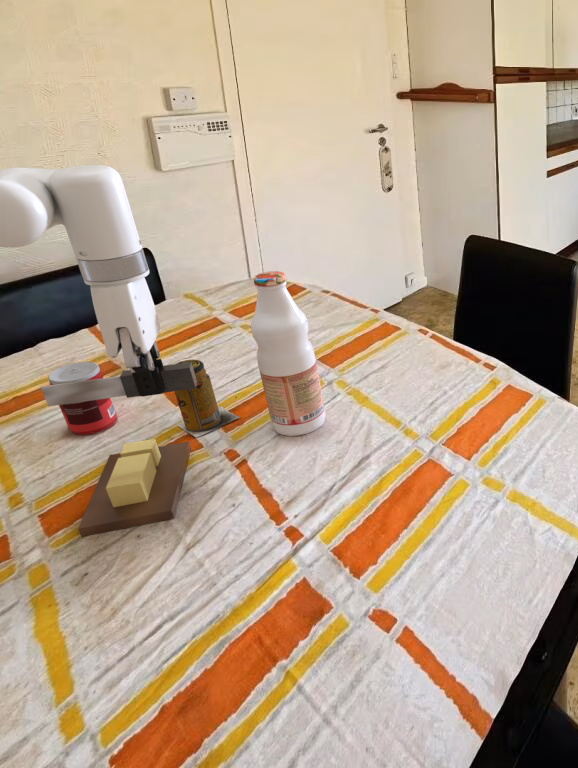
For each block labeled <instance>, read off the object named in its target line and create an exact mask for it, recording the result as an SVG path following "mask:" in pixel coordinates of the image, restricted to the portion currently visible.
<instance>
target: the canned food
mask: <svg viewBox="0 0 578 768" xmlns="http://www.w3.org/2000/svg"><path fill="white" fill-rule="evenodd" d="M47 378H48V382H49V385H56V384H64V383H71V382H79V381H86V380H94V379H102V378H104V377H103V374H102V371H101V368H100V366H99V365H98V363H96V362H93V361H79V362H73V363H69V364H66V365H62V366H60V367H58V368H56V369H54V370H52V371H51V372H49V374H48V376H47ZM58 406H59V409H60V411H61V414H62V416H63V419H64V420H65V423H66V426H67V428H68V429H69V431H70V432H71V433H73V434H74V435H78V436H90V435H95V434H98V433H102V432H103V431H106V430H108V429H110V428H111V427H112V426H114V424H116V422H117V412H116V409H115V407H114V404H113V401H112V398H105V399H98V400H91V401H84V402H77V403H69V404H62V405H58Z"/></svg>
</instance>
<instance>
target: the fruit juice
mask: <svg viewBox="0 0 578 768" xmlns="http://www.w3.org/2000/svg"><path fill="white" fill-rule="evenodd" d="M253 285H254V287H255V288H256V290H257V295H256V303H255V308H254V314H253V316H252V319H251V321H250V332H251V335H252V338H253V340H254V342H255V343H256V345H257V350H256V360H257V361H256V362H257V367H258V372H259V375H260V379H261V383H262V387H263V391H264V396H265V401H266V405H267V409H268V414H269V418H270V421H271V426H272V428H273V429H274V431H275V432H276V433H277V434H279V435H283V436H289V437H296V436H303V435H307V434H309V433H312V432H314V431H316V430H318V429H319V428H321V427H322V425H324V423H325V421H326V409H325V403H324V398H323V392H322V387H321V386H322V385H321V381H320V376H319V370H318V365H317V364H318V363H317V358H316V355H315V350H314V346H313V345H312V343H311V341H310V340H309V337H308V336H309V322H308V318H307V316H306V314H305V313H304V312H303V311H302V310H301V308H299V307H298V305H297V303H296V302H295V300H294V299H293V297H292V295H291V294H290V292H289V290H288V289H287V286H286V285H287V277H286V274H285V272H283V271H278V270H275V271H274V270H273V271H272V270H271V271H264V272H261V273H257V274H256V275H254V277H253Z"/></svg>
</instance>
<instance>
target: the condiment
mask: <svg viewBox="0 0 578 768" xmlns="http://www.w3.org/2000/svg"><path fill="white" fill-rule="evenodd" d="M188 362H192V365H193V369H194V372H195V376H196V379H197V385H196V388H194V389H187V390H180V391H173V393H174V395H175V398H176V402H177V405H178V408H179V411H180V415H181V418H182V420H183V421H182V422H179V423H176V426H178V428H180V429H182V430H183V431H184V432H186V433H188V434H189V435H191V436H193V437H194V438H198V437H201V436H203V435H205V434H206V435H207V434H208V433H210V432H212V431H214V430H217V429H218V428H221V427H222V426H225V425H227V424H229V423H231V422H234V421H235V420H237V419H240V418H241V417H240V416H239V415H236V414H234V413H233V412H231V411H229V410H228V409H227V408H224V407H223V406H221V405H218V402H217V399H216V395H215V391H214V389H213V384H212V381H211V377H210V375H209V374H208V373H207V370H206V368H205V365H204V362H202V361H201V360H199V359H186V360H182V361H179V362H176V363H175V364H180V363H188Z"/></svg>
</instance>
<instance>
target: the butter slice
mask: <svg viewBox="0 0 578 768" xmlns="http://www.w3.org/2000/svg"><path fill="white" fill-rule="evenodd" d="M158 447H159V446H158V443H157V440H156V438H152V439H143V440H138V441H132V442H125V443H124V444H123V446H122V447H121V450H120V452H119V453H120V455H121V457H127V456H133V455H139V454H145V453H151V456H152V459H153V462H154V465H155V467H157V466H158V464H159V461H160V458H161V455H160V452H159V449H158Z"/></svg>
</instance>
